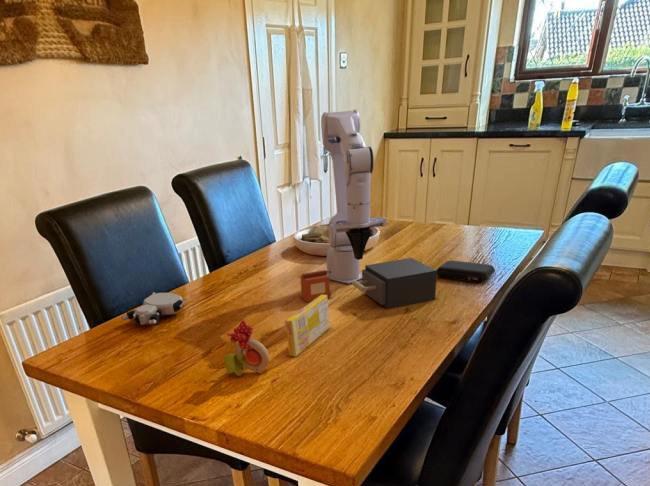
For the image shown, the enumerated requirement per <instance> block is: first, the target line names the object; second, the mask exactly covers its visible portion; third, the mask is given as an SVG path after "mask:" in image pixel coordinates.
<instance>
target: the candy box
mask: <svg viewBox="0 0 650 486" xmlns="http://www.w3.org/2000/svg"><path fill="white" fill-rule="evenodd" d="M328 299H329V298H327V295H320V296H319V297H317V298H316V299H315V300H313V301H312V302H308V304H306V305H305V306H303V307H302V308H300V309H299V310H298V311H296V312H295V313H294V314H292V315H291V316H290V317H288V318H287V319H285V321H284V322H285V331H286V332H285V333H286V342H287V351H288V356H291V357H295V358H296V357H297V356H298V355H300V354H301V353H302V352H303V351H304V350H306V348H309V346H310V345H312V344H313V343H314V342H315V341H316V340H318V339H319V338H320V337H321V336H322V335H323V334H325V333H326V332H327V331H328V330H330V329H331V327H330V315H329V314H330V312H329V300H328Z"/></svg>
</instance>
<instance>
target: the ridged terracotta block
mask: <svg viewBox="0 0 650 486" xmlns="http://www.w3.org/2000/svg"><path fill="white" fill-rule="evenodd" d="M299 277H300V291H301V299H303V300H304V301H305V302H306V303H310V302H312V301H313V300H315V299H316V298H317V297H319V296H320V295H327V298H328V299H330V298H331V297H330V296H331V294H330V293H331V292H330V279H329V276H328V275H327V269H324V270H323V269H322V270H318V271H311V272H305V273H301V275H300V276H299Z"/></svg>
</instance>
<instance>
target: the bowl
mask: <svg viewBox="0 0 650 486" xmlns="http://www.w3.org/2000/svg"><path fill="white" fill-rule="evenodd" d="M370 230H372V233H371V236H370V238H369V240H368V242H367V244H366V247H365V250H364V252H365V251H368V250H369V249H372V247H374V246H375V245H377V243H378V241H379V238H380V229H379V227H373V228H370ZM293 242H294V245H295V246H296V247H297V249H299V251H301V252H303V253H305V254H309V255H313V256H320V257H327V253H328V250H329V249H330V248H331V246H330V244H329V223H324V224H323V223H322V224H316V225H311V226H307V227H303V228H302V229H299V230H297V231H296V232H294V233H293Z"/></svg>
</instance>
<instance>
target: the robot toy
mask: <svg viewBox="0 0 650 486" xmlns="http://www.w3.org/2000/svg"><path fill="white" fill-rule="evenodd" d="M189 299H190V296H187V297H186V299H185V300H184V299H183V297H182V296H181V295H179V294H176V293H172V292H155V291H154V292H152V294H151V295H149V296H148V297H146V298H144V300H143V302H142V304H143V305H141V306H139V307H137V308H136V309H132V310H130V311H127V312H126V314H122V315H121V317H120V319H122V320H123V321H126V320H130V321H131V320H133V319H134V322H135V324H136V325H143V326H144V325H148V326H150V325H157V324H158V323H159V321H160V317H161V316H169V315H171V316H173V315H176V314H177V313H178V312H179V311H180V310H182V309H183V308H184V306H185V303H186V302H187V301H188V300H189Z"/></svg>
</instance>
